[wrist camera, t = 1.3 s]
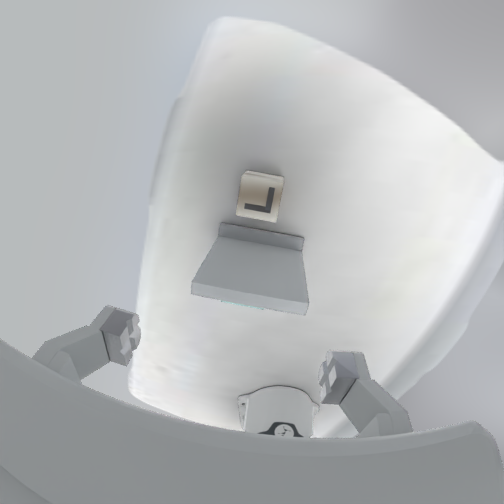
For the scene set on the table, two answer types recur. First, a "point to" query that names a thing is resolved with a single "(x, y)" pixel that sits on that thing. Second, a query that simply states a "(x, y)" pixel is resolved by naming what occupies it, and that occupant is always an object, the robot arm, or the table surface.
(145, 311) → the table surface
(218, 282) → the screen
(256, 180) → the letter cube
